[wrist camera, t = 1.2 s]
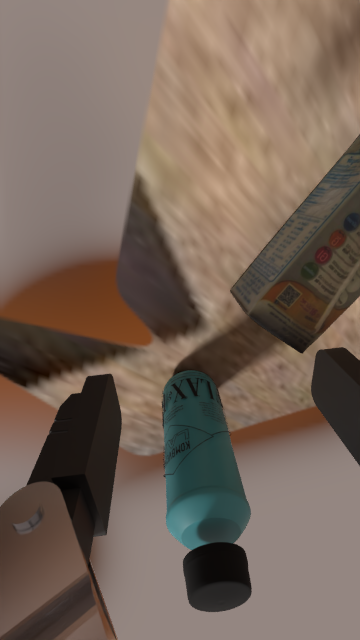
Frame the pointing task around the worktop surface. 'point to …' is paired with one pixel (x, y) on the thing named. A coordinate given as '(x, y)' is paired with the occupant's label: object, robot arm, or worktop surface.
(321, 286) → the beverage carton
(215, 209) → the worktop surface
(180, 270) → the worktop surface
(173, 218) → the worktop surface
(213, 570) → the beverage bottle
